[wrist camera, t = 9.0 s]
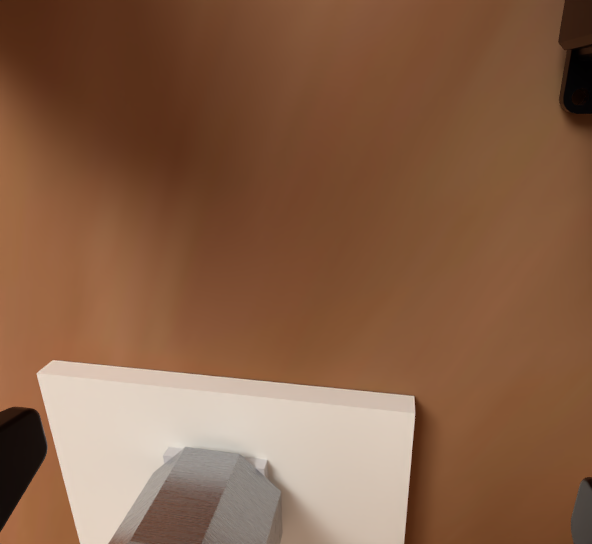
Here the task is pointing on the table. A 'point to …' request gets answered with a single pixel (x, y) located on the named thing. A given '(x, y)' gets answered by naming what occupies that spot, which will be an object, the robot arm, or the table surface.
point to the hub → (204, 503)
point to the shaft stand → (233, 446)
